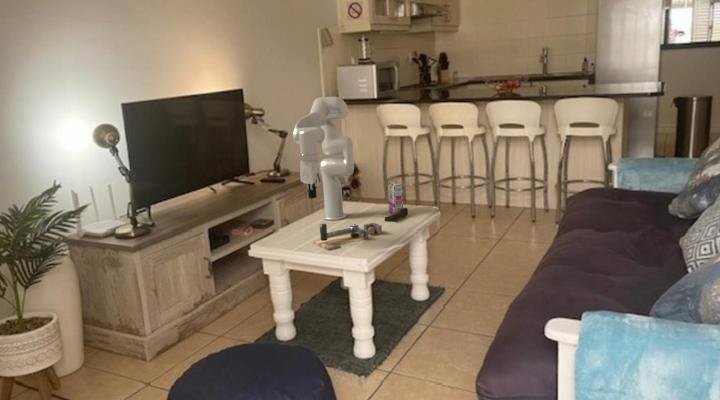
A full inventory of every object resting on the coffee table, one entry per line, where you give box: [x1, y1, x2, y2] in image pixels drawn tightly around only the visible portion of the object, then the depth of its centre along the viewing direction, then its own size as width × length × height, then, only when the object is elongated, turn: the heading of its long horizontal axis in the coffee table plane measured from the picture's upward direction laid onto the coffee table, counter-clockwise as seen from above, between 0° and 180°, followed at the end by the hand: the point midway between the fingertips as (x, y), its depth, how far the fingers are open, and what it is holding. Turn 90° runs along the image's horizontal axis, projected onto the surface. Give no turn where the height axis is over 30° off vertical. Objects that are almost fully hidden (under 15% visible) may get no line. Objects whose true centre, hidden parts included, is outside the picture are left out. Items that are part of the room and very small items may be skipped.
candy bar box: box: [387, 181, 404, 215], centre depth 309 cm, size 11×5×16 cm, turn 14°
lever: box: [319, 223, 369, 241], centre depth 264 cm, size 10×20×8 cm, turn 122°
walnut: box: [367, 227, 375, 235], centre depth 272 cm, size 4×4×4 cm
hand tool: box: [384, 207, 409, 223], centre depth 300 cm, size 19×4×5 cm, turn 141°
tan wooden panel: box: [313, 222, 384, 251], centre depth 270 cm, size 13×30×5 cm, turn 122°
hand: (312, 197), depth 265 cm, fingers closed
